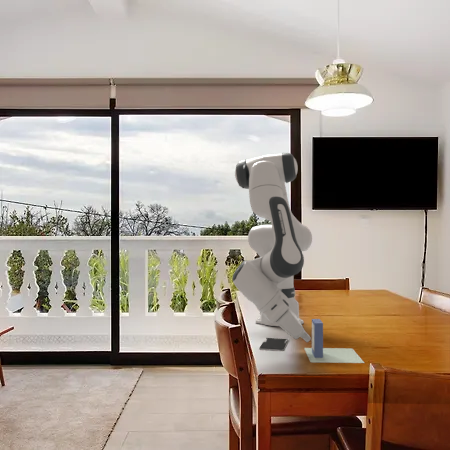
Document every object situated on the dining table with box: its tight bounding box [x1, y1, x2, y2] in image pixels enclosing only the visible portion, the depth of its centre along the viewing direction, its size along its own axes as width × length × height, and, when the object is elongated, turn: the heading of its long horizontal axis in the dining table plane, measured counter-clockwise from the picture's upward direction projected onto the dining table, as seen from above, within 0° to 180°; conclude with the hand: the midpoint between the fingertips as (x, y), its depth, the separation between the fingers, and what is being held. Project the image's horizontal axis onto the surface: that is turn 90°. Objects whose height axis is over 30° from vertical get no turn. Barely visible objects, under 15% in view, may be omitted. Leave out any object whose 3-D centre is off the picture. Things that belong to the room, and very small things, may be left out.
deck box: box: [311, 318, 324, 358], centre depth 146 cm, size 6×2×10 cm, turn 177°
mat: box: [303, 347, 365, 364], centre depth 146 cm, size 16×15×1 cm
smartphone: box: [258, 337, 289, 352], centre depth 158 cm, size 8×1×15 cm
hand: (308, 339), depth 146 cm, fingers closed
